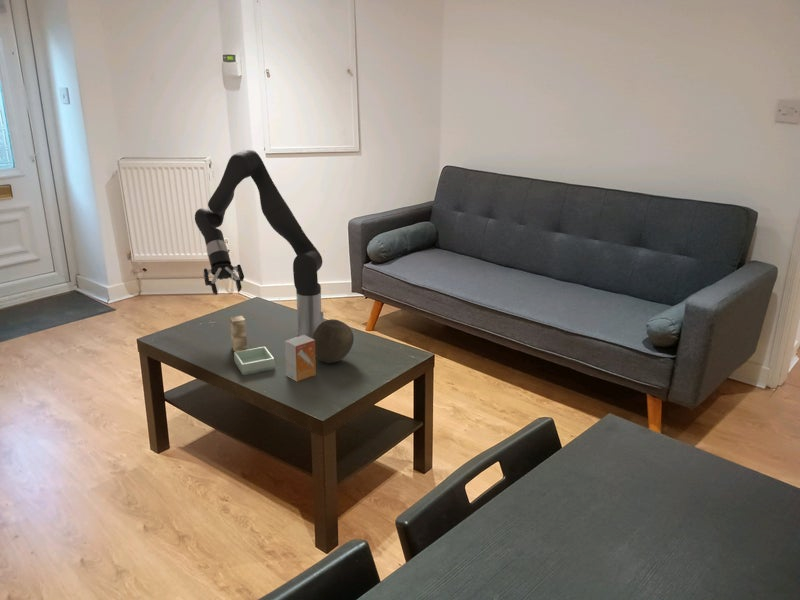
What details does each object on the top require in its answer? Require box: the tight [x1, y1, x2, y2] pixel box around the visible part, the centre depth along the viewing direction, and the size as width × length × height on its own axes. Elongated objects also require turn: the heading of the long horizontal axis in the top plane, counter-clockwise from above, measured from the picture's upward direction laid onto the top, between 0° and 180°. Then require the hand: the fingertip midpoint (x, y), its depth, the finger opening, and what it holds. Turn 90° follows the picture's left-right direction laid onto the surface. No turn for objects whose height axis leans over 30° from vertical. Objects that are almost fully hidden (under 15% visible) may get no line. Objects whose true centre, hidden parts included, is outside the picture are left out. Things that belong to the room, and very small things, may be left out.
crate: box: [233, 346, 276, 376], centre depth 231 cm, size 11×11×4 cm
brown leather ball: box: [312, 319, 355, 364], centre depth 234 cm, size 14×14×15 cm
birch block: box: [229, 315, 248, 352], centre depth 243 cm, size 4×4×12 cm
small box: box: [284, 335, 317, 383], centre depth 224 cm, size 8×6×13 cm
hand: (227, 292), depth 249 cm, fingers open, 8 cm apart
